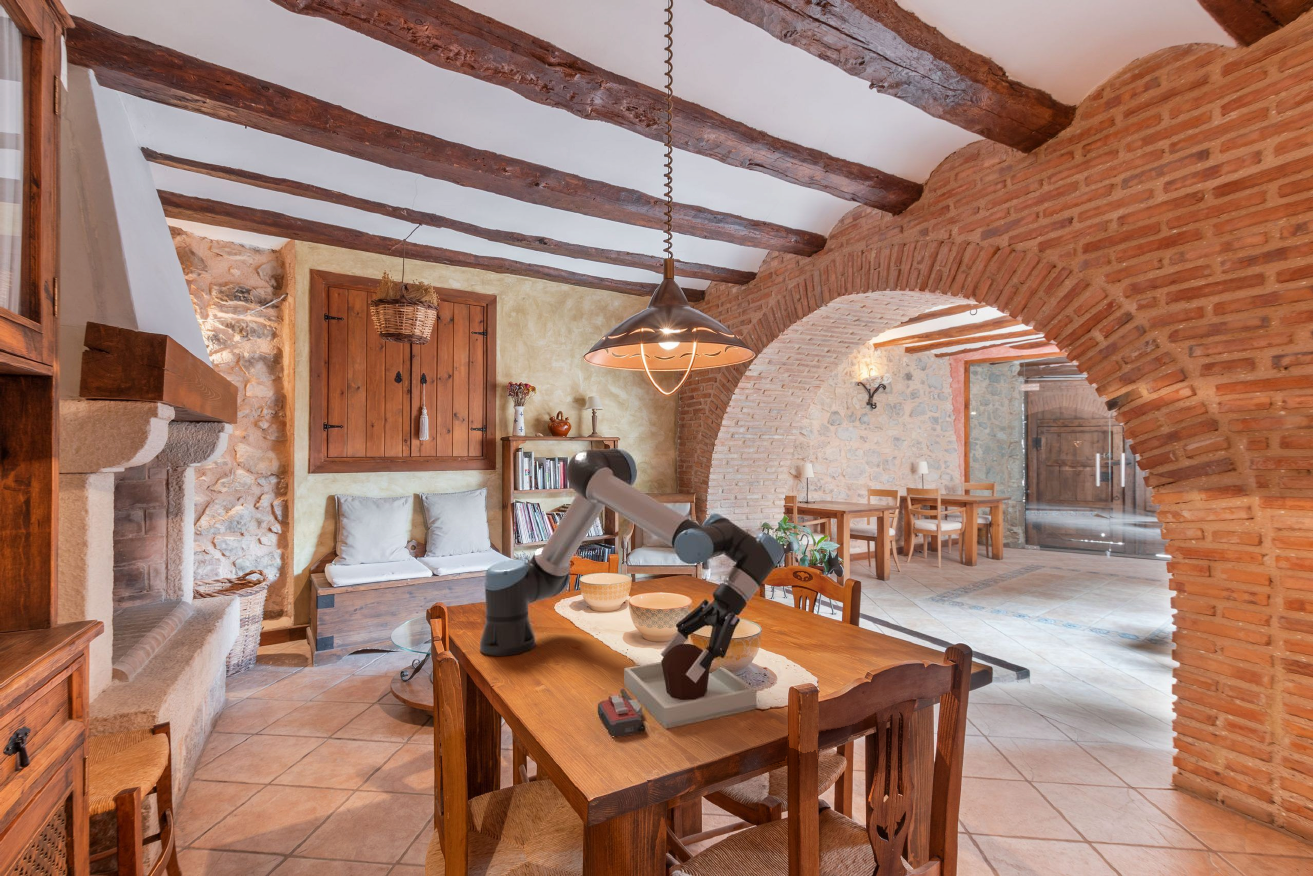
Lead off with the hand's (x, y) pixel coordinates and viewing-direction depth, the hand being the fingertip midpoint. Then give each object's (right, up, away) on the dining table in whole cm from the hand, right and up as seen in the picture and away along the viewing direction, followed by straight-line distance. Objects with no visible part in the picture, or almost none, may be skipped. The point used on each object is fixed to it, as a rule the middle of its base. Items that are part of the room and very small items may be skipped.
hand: (677, 668), depth 134 cm
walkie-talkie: (-12, -7, -8) cm, 16 cm away
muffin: (+2, -6, +1) cm, 6 cm away
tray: (+2, -7, +1) cm, 7 cm away
